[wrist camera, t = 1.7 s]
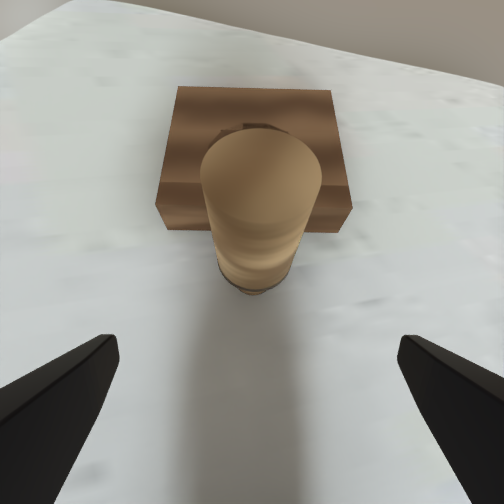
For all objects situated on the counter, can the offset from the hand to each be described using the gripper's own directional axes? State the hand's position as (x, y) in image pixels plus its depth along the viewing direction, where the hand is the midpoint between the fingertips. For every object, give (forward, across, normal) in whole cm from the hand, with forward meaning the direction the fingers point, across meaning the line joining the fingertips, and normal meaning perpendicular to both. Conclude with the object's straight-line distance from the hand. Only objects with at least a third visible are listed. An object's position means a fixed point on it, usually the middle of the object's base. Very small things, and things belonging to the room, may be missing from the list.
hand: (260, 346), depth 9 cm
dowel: (+15, 0, +4) cm, 15 cm away
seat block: (+23, 0, -4) cm, 24 cm away
